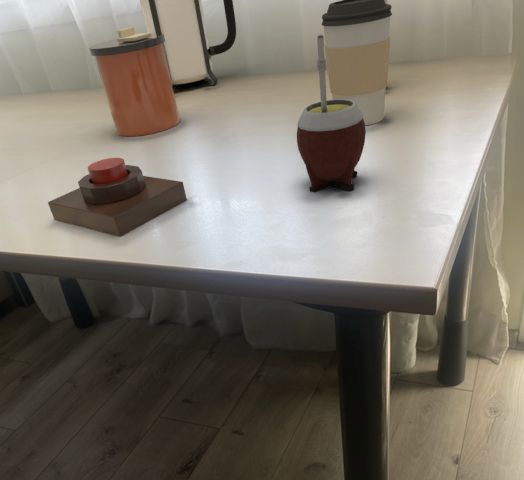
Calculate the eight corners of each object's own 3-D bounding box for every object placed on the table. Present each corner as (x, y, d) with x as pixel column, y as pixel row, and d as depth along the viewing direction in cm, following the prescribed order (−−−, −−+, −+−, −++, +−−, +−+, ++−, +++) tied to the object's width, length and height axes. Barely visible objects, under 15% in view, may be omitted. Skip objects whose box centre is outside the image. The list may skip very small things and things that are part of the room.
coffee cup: (391, 125, 72) (392, -6, 63) (325, 132, 74) (317, 5, 65) (390, 108, 79) (391, -13, 70) (330, 114, 81) (323, -2, 72)
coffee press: (197, 94, 107) (160, -98, 89) (140, 95, 115) (95, -81, 97) (244, 74, 118) (220, -101, 100) (189, 76, 126) (157, -86, 108)
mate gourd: (338, 167, 62) (330, 18, 53) (385, 182, 56) (385, 18, 47) (286, 187, 59) (268, 33, 50) (330, 205, 54) (319, 35, 45)
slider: (117, 42, 83) (115, 31, 82) (135, 37, 85) (132, 26, 84) (134, 41, 80) (131, 29, 79) (151, 36, 82) (149, 25, 81)
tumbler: (99, 135, 91) (73, 49, 83) (150, 115, 98) (130, 34, 90) (146, 139, 85) (121, 47, 77) (196, 117, 92) (179, 31, 84)
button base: (54, 220, 61) (41, 186, 59) (120, 188, 67) (110, 156, 65) (120, 237, 55) (108, 200, 52) (187, 200, 60) (179, 165, 58)
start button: (85, 184, 59) (80, 168, 57) (113, 171, 61) (108, 156, 60) (107, 188, 56) (102, 171, 55) (136, 175, 59) (131, 159, 58)
